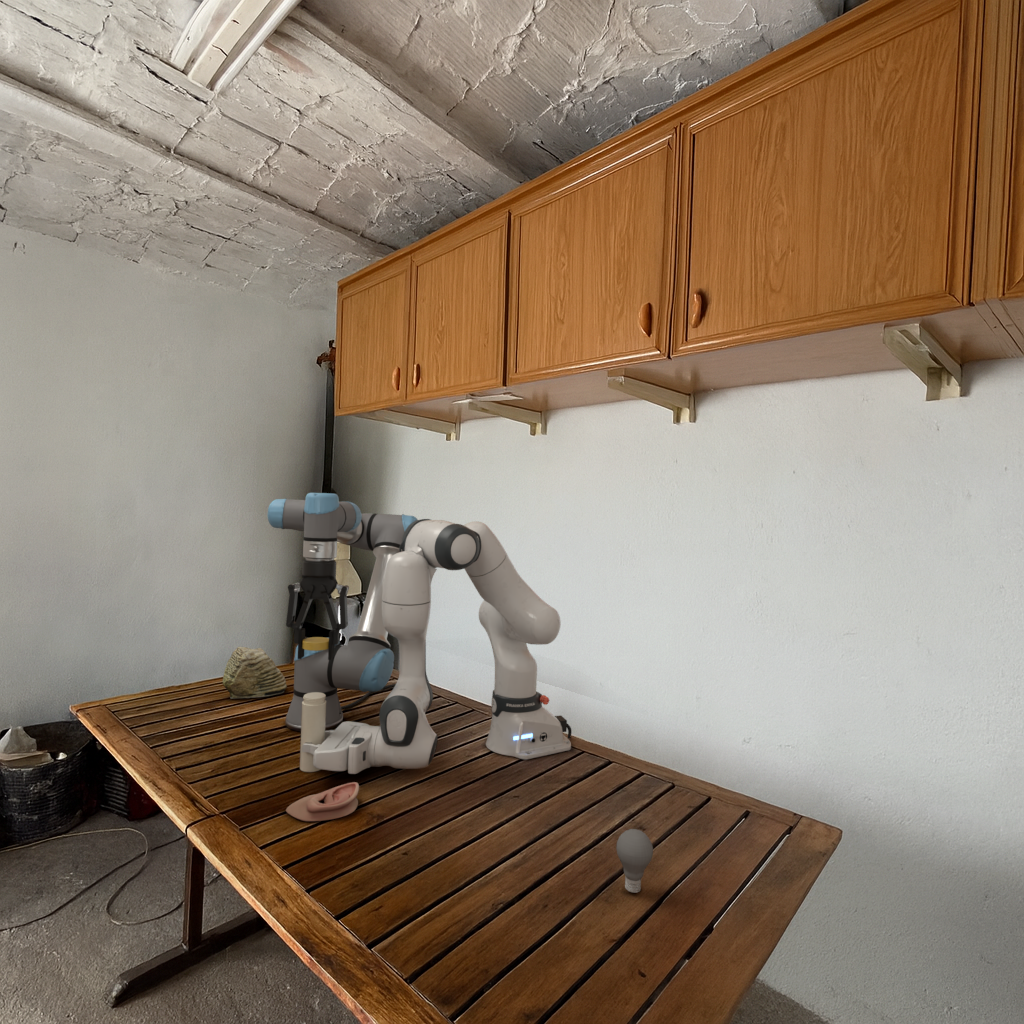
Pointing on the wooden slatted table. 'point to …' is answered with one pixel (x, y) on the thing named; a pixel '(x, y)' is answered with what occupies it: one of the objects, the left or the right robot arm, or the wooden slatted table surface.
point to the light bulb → (634, 857)
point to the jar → (312, 726)
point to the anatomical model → (326, 804)
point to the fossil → (252, 674)
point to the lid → (315, 643)
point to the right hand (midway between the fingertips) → (308, 741)
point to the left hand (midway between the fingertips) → (316, 657)
